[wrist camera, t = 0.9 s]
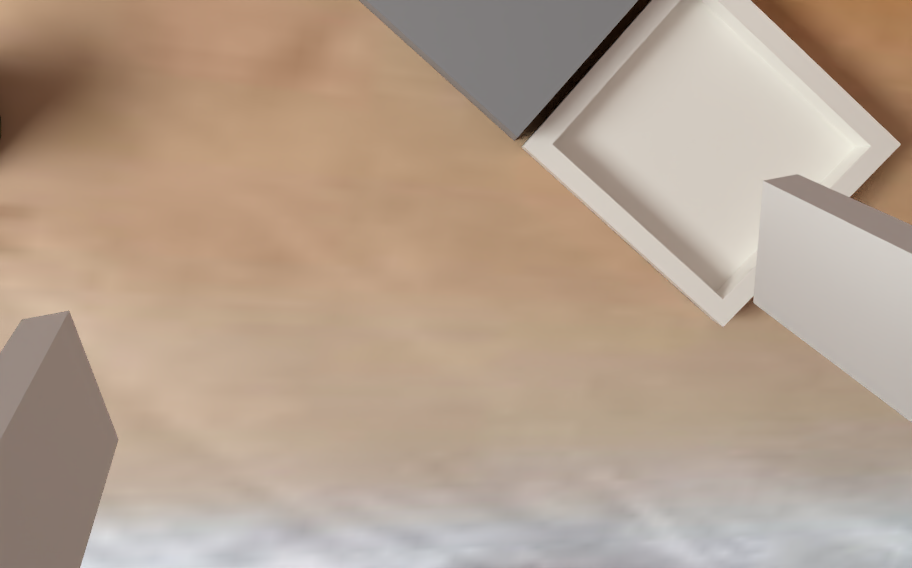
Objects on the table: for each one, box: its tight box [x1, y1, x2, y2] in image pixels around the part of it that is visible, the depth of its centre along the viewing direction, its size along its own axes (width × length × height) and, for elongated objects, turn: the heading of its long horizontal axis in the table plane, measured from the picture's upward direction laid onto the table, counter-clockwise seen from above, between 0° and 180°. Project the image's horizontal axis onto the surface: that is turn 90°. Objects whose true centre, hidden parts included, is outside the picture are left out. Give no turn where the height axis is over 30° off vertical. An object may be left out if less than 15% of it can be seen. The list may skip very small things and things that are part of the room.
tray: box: [521, 0, 901, 327], centre depth 37 cm, size 14×12×2 cm
